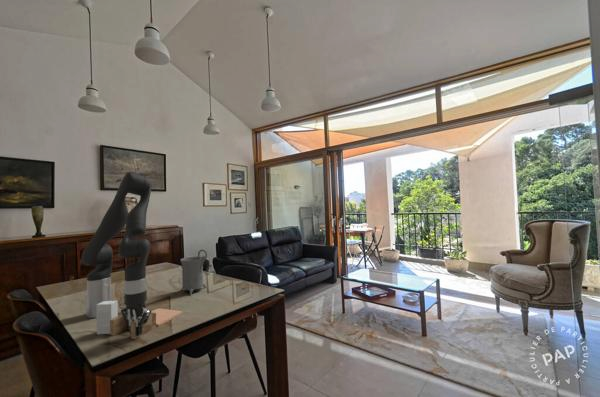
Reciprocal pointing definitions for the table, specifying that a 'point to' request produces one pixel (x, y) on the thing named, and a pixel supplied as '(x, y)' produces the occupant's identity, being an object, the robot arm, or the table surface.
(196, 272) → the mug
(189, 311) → the table surface
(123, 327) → the c link
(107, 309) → the skincare box
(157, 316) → the tile
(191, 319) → the table surface
